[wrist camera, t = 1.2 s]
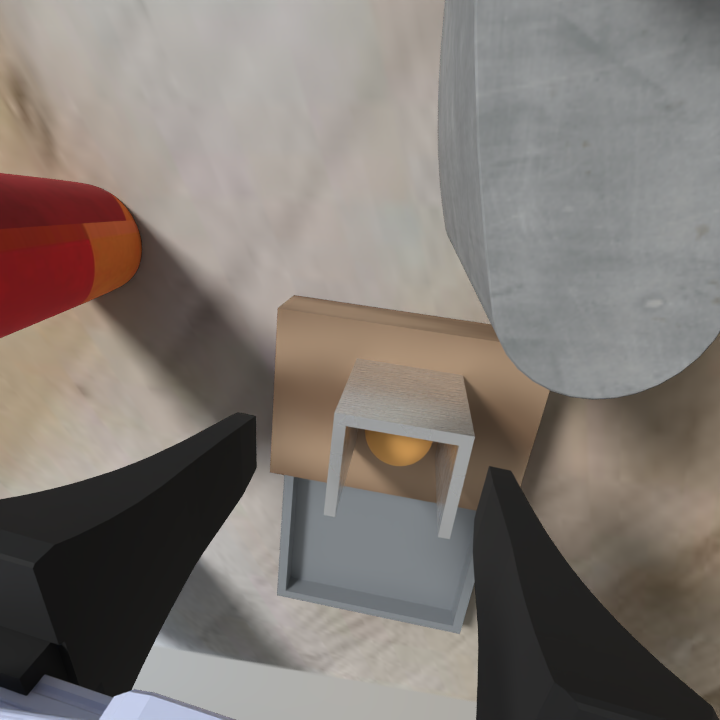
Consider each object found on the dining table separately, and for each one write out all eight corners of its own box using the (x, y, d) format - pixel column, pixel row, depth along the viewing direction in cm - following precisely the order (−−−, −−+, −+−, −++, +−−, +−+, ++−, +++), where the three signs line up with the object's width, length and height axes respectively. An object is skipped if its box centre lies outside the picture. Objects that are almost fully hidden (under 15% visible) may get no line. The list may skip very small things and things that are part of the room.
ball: (427, 447, 24) (427, 486, 21) (365, 436, 24) (356, 473, 21) (438, 391, 23) (440, 423, 19) (373, 380, 23) (365, 410, 20)
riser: (502, 484, 27) (511, 517, 25) (285, 444, 29) (270, 472, 26) (545, 332, 24) (561, 351, 21) (294, 295, 25) (277, 308, 22)
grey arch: (444, 458, 24) (449, 539, 18) (347, 441, 24) (323, 515, 19) (462, 375, 22) (474, 436, 17) (357, 358, 23) (334, 412, 17)
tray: (458, 613, 32) (459, 633, 30) (283, 576, 33) (277, 595, 31) (493, 486, 28) (497, 503, 26) (292, 450, 29) (285, 464, 27)
